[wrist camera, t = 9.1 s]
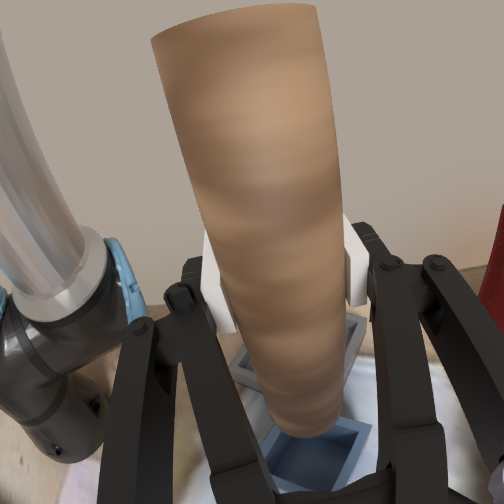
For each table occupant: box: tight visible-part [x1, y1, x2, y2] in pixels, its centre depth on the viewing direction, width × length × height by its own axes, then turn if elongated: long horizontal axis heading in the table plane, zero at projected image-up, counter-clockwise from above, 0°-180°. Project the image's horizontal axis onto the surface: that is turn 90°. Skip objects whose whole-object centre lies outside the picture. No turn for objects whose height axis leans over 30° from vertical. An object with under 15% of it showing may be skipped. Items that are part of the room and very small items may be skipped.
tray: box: [228, 313, 367, 393], centre depth 41 cm, size 14×14×3 cm
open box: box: [260, 416, 372, 494], centre depth 27 cm, size 9×9×7 cm
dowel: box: [151, 3, 346, 438], centre depth 14 cm, size 5×5×22 cm
